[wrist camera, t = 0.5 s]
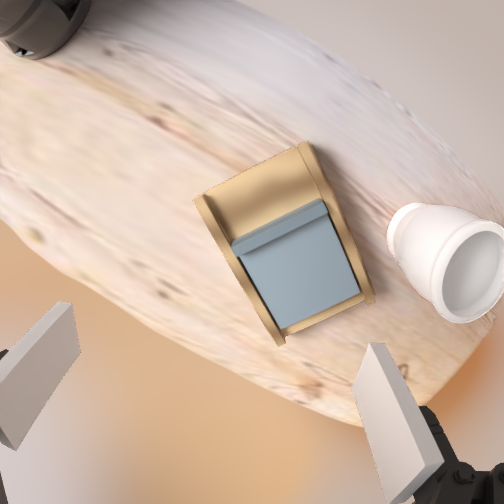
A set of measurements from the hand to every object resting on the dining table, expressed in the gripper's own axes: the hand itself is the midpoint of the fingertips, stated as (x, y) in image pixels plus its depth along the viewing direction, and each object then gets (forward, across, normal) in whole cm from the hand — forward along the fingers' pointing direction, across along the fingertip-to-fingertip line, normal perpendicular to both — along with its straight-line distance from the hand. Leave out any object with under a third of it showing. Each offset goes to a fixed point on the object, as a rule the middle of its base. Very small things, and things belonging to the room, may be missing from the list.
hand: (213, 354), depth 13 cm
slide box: (+26, +6, -3) cm, 27 cm away
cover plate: (+23, +7, -4) cm, 24 cm away
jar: (+26, +23, +1) cm, 35 cm away
